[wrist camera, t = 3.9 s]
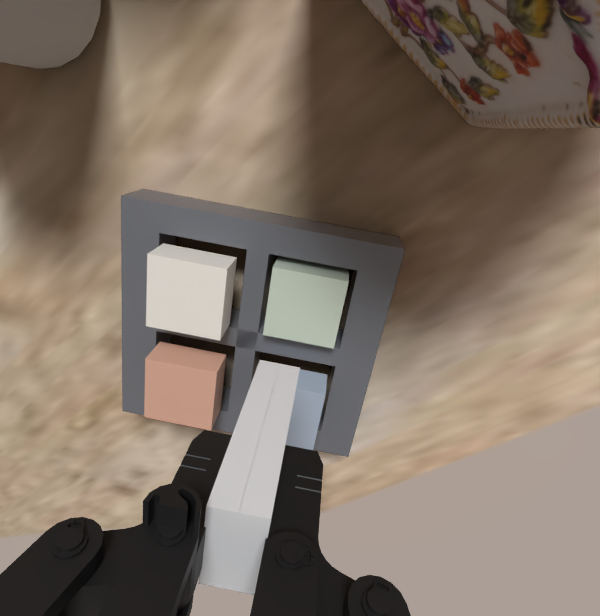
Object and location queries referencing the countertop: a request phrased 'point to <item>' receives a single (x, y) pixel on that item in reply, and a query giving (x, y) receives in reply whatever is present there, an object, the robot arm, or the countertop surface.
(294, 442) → the slate key
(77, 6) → the can
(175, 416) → the terracotta key
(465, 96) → the decorative jar
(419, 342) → the countertop surface
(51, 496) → the countertop surface
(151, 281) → the cream key
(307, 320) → the sage key
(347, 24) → the countertop surface
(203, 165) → the countertop surface
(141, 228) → the keypad
